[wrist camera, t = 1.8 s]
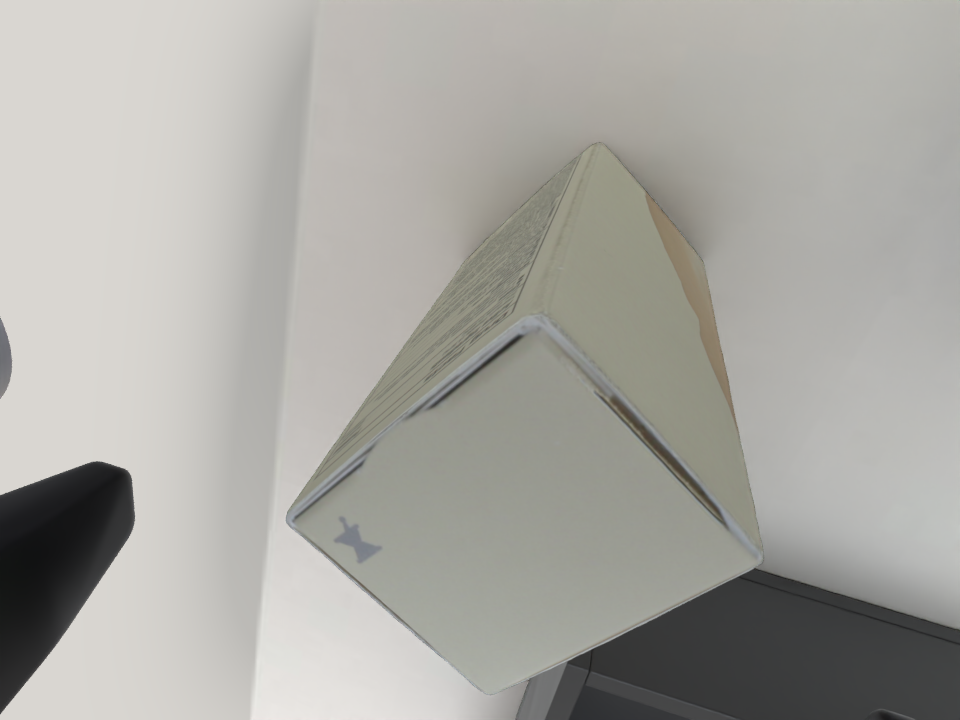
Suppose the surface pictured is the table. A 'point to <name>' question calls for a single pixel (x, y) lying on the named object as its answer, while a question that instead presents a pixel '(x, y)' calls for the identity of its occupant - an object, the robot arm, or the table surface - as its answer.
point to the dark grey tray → (759, 662)
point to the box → (546, 442)
